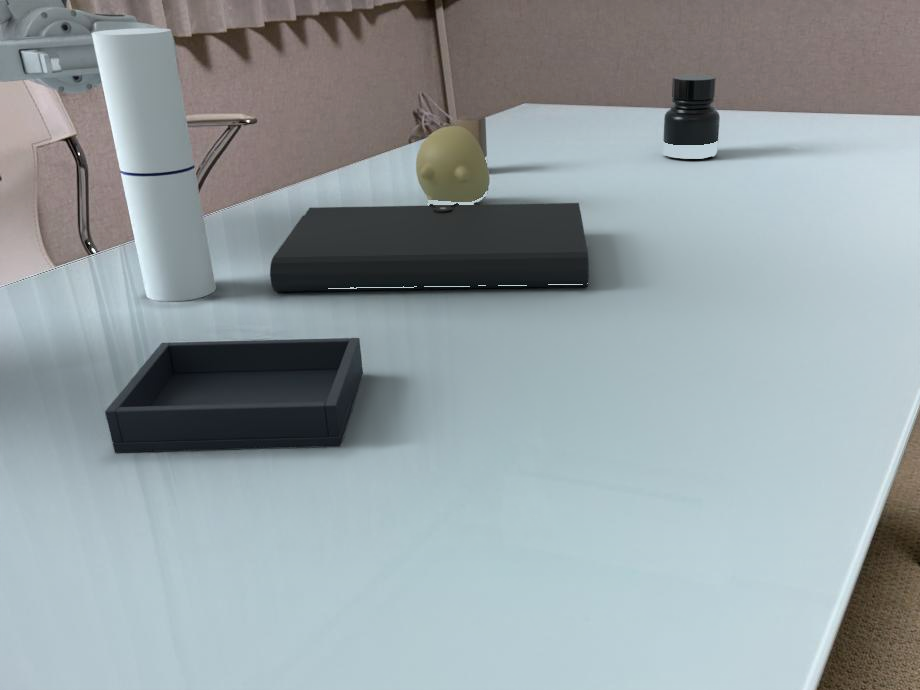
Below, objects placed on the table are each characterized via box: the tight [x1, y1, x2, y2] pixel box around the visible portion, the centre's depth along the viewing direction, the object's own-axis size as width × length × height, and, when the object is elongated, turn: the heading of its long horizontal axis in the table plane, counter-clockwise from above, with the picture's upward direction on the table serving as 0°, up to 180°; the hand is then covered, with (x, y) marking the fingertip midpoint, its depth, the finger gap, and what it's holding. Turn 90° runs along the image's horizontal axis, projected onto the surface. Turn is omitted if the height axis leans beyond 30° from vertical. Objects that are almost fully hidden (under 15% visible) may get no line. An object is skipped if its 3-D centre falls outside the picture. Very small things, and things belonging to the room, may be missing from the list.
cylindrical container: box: [92, 27, 217, 303], centre depth 105 cm, size 7×7×25 cm
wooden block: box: [454, 115, 488, 157], centre depth 163 cm, size 4×4×8 cm
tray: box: [104, 337, 364, 453], centre depth 83 cm, size 17×15×3 cm
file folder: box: [269, 202, 590, 293], centre depth 119 cm, size 33×4×24 cm
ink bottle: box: [662, 74, 721, 145], centre depth 170 cm, size 10×9×12 cm
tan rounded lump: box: [415, 125, 491, 202], centre depth 141 cm, size 10×12×11 cm
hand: (100, 60), depth 109 cm, fingers open, 8 cm apart
